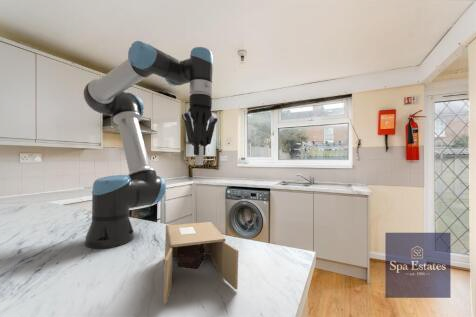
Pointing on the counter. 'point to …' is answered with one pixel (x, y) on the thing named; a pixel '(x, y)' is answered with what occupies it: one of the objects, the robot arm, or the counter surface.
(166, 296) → the flap near
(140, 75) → the robot arm
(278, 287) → the counter surface
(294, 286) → the counter surface
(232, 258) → the flap far
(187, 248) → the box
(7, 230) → the counter surface
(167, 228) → the carton
